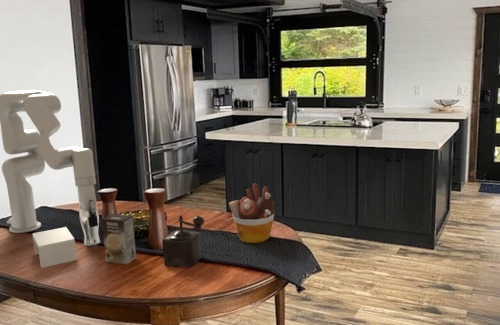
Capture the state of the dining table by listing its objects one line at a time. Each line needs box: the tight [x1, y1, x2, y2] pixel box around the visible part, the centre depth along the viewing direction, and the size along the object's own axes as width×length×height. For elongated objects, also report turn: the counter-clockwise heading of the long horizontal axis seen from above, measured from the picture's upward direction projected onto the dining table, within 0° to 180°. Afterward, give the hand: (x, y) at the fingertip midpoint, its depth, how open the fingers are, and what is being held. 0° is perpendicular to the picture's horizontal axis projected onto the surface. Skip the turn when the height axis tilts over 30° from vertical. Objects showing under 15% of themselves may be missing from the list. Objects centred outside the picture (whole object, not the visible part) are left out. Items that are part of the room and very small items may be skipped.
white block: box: [31, 226, 78, 269], centre depth 179 cm, size 16×12×8 cm
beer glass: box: [78, 207, 101, 247], centre depth 191 cm, size 7×7×15 cm
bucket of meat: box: [228, 182, 275, 244], centre depth 188 cm, size 20×16×20 cm
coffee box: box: [101, 213, 137, 265], centre depth 173 cm, size 9×6×16 cm
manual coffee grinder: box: [161, 215, 205, 268], centre depth 168 cm, size 16×11×18 cm
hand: (90, 223), depth 190 cm, fingers open, 9 cm apart
